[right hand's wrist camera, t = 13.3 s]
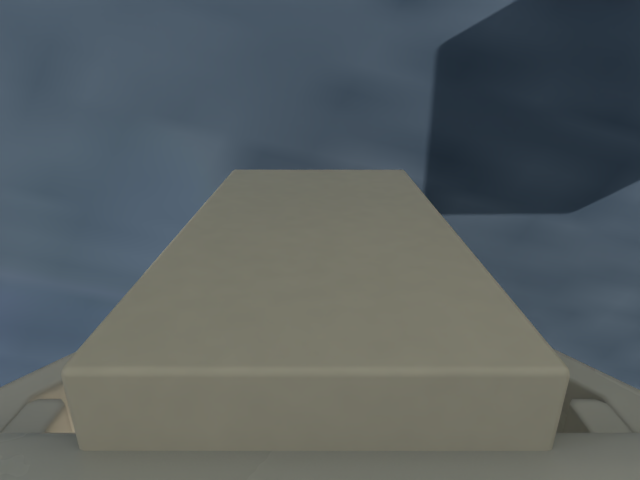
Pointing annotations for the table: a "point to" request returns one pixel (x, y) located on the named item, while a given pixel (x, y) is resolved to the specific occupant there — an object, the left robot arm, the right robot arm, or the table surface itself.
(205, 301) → the brick
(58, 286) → the table surface
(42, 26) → the table surface
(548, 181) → the table surface
